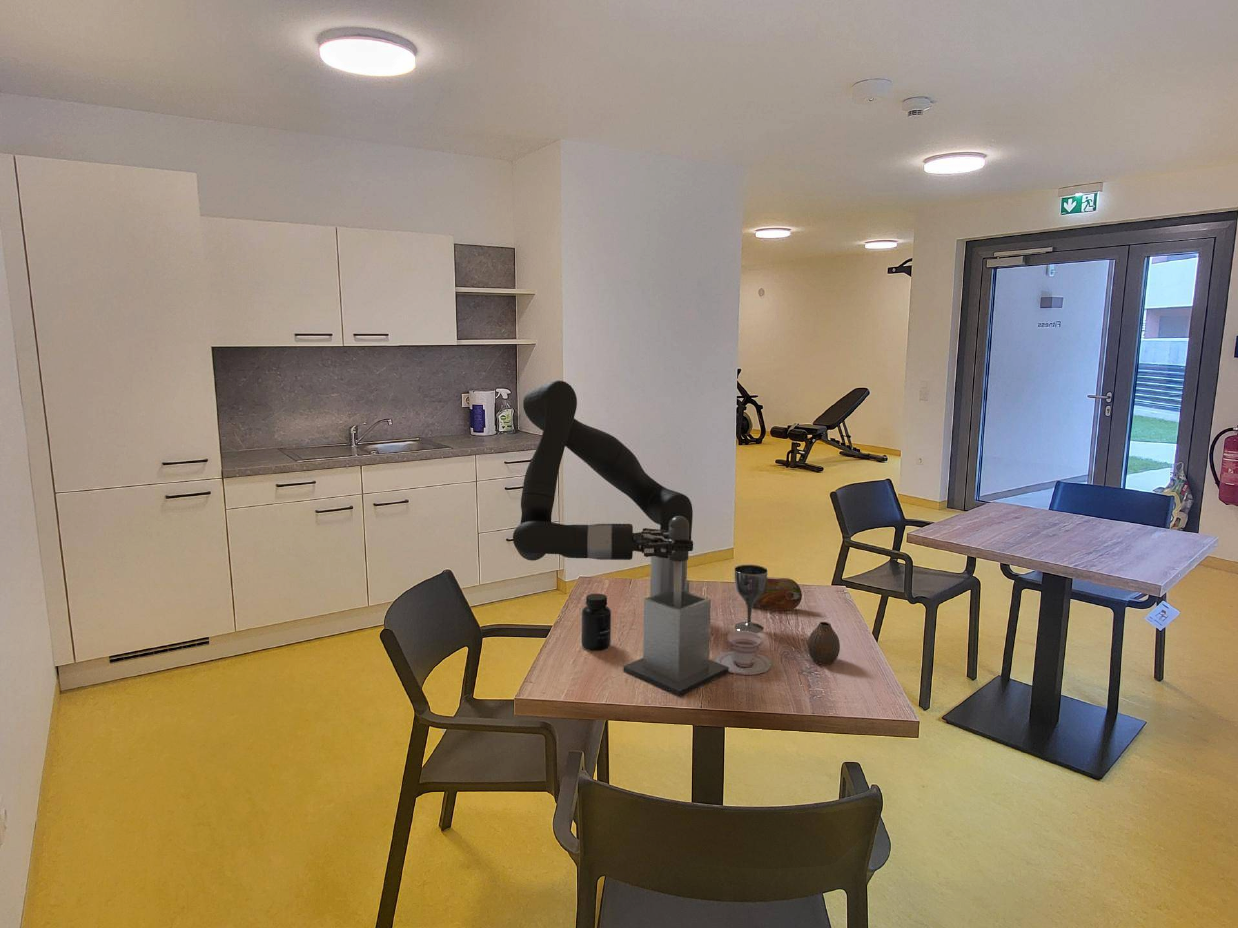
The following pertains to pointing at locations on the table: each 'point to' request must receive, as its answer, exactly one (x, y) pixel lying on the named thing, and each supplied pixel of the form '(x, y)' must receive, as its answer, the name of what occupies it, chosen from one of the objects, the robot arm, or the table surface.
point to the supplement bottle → (596, 623)
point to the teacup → (744, 654)
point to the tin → (779, 595)
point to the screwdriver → (678, 553)
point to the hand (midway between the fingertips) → (691, 542)
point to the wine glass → (750, 591)
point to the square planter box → (676, 644)
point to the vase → (823, 644)
